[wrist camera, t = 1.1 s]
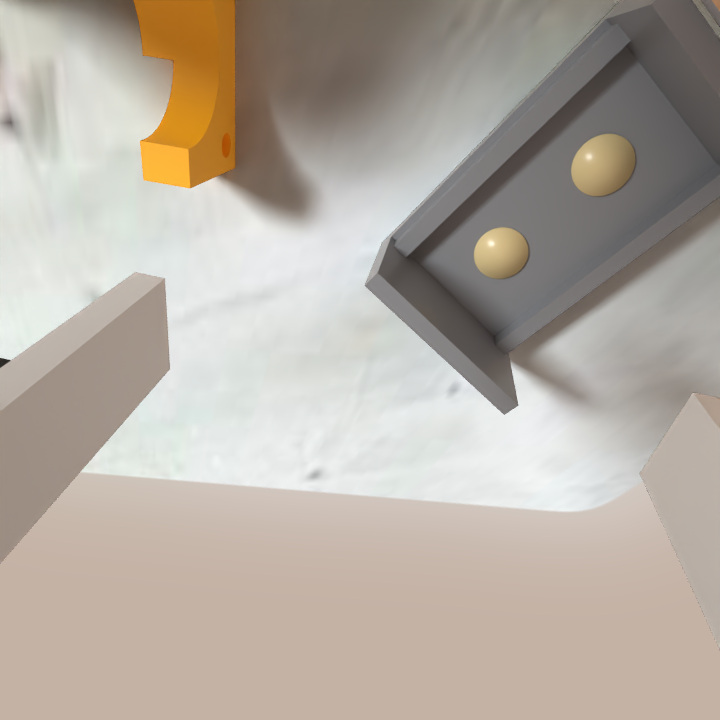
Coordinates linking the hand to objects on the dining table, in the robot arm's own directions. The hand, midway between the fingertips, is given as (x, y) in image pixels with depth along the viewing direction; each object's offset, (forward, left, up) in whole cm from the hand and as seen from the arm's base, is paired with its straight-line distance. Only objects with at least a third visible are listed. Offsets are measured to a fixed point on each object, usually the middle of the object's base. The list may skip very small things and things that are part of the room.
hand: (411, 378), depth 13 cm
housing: (+5, +4, -21) cm, 22 cm away
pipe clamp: (-16, -4, -21) cm, 27 cm away
